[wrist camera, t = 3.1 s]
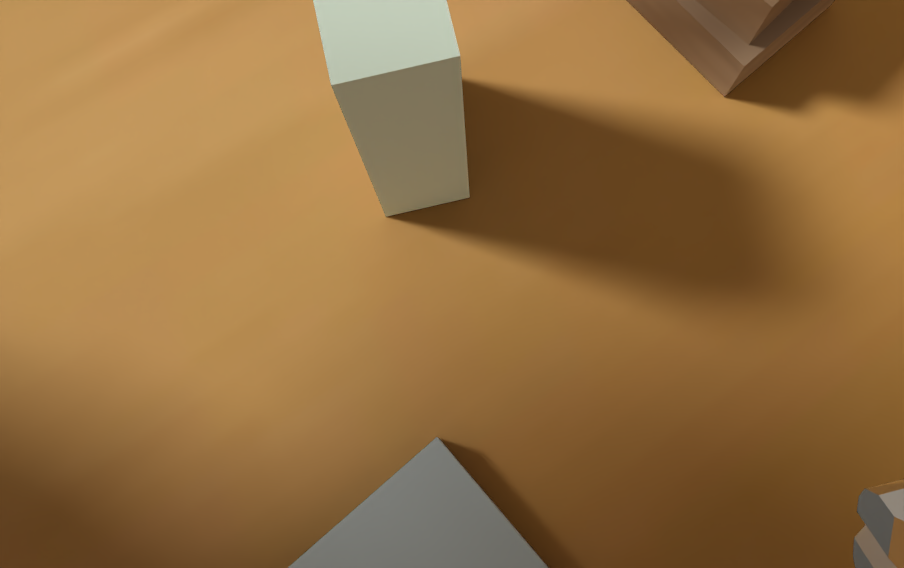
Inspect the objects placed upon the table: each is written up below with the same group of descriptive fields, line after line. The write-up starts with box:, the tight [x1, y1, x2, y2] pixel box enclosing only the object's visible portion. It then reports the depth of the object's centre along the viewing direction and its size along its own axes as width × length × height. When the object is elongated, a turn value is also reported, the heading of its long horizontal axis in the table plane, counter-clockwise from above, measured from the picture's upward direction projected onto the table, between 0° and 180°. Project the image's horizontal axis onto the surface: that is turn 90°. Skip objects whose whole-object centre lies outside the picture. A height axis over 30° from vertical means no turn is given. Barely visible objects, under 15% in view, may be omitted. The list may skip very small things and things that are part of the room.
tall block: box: [313, 0, 470, 217], centre depth 21 cm, size 2×4×9 cm, turn 13°
